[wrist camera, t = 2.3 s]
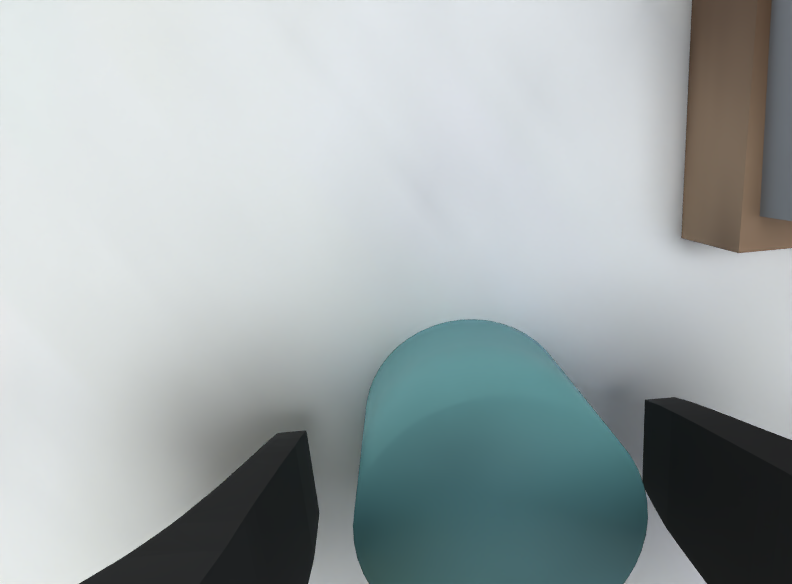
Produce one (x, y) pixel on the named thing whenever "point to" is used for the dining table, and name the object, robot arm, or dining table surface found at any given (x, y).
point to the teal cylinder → (490, 468)
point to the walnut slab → (728, 128)
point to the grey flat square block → (778, 117)
